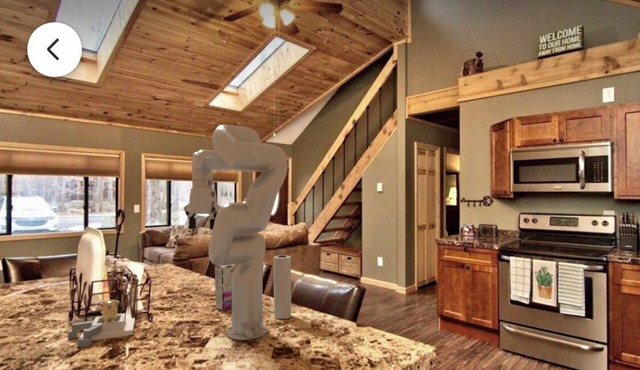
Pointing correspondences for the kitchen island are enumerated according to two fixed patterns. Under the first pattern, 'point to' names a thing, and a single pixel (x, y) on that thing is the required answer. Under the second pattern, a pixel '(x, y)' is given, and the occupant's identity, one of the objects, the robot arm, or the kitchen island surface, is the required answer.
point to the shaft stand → (101, 329)
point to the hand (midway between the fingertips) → (202, 228)
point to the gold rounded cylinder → (109, 310)
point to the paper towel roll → (282, 286)
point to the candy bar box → (224, 286)
